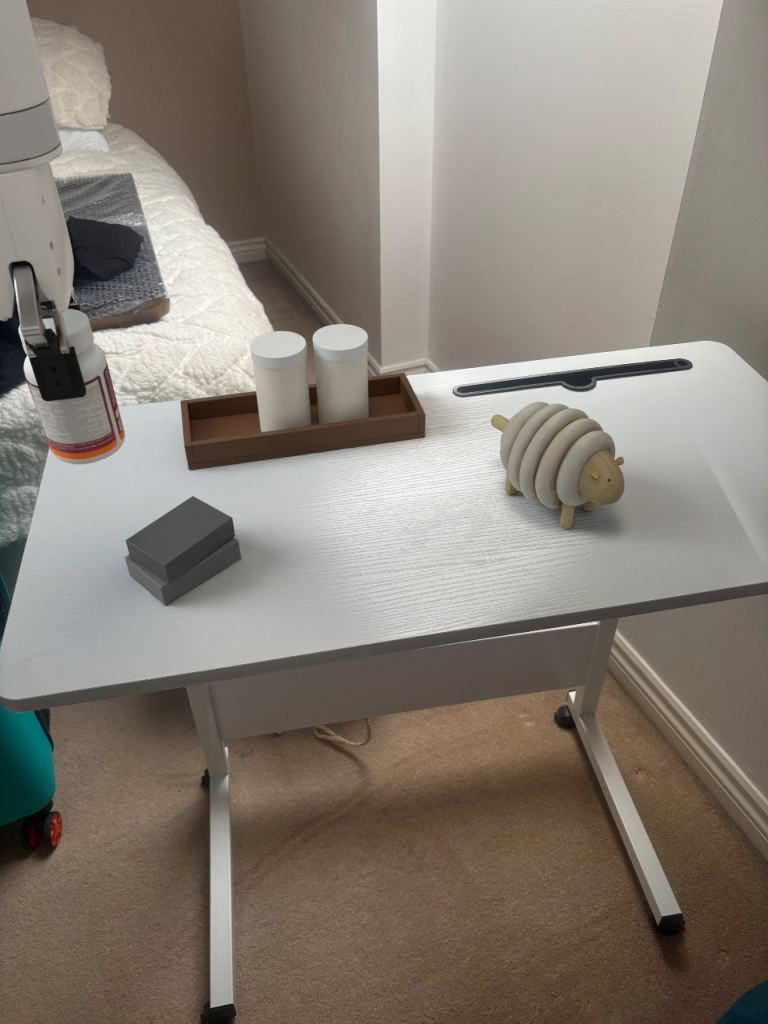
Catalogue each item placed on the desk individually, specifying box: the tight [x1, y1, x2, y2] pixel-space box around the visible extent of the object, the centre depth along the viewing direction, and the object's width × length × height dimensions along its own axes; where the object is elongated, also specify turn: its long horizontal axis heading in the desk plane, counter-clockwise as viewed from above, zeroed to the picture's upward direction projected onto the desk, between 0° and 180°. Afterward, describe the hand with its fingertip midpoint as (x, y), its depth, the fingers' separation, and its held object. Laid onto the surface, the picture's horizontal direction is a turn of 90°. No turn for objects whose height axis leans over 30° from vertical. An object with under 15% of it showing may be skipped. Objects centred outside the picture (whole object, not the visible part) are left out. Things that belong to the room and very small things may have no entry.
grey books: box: [124, 495, 242, 606], centre depth 80 cm, size 9×6×5 cm
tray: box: [179, 372, 426, 471], centre depth 99 cm, size 28×10×3 cm, turn 103°
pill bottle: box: [18, 309, 126, 465], centre depth 66 cm, size 6×6×11 cm
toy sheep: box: [490, 401, 625, 530], centre depth 86 cm, size 11×17×11 cm, turn 46°
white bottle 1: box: [249, 330, 311, 432], centre depth 95 cm, size 6×6×11 cm
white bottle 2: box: [312, 323, 369, 424], centre depth 96 cm, size 6×6×11 cm
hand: (67, 372), depth 65 cm, fingers closed on pill bottle, 6 cm apart
